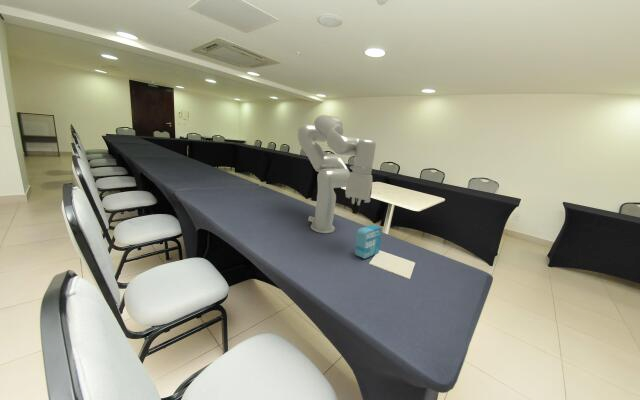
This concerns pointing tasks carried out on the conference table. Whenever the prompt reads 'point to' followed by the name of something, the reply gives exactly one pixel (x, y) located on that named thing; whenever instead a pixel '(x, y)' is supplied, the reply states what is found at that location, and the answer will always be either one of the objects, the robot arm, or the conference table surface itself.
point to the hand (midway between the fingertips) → (355, 212)
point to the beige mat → (393, 264)
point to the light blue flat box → (368, 241)
